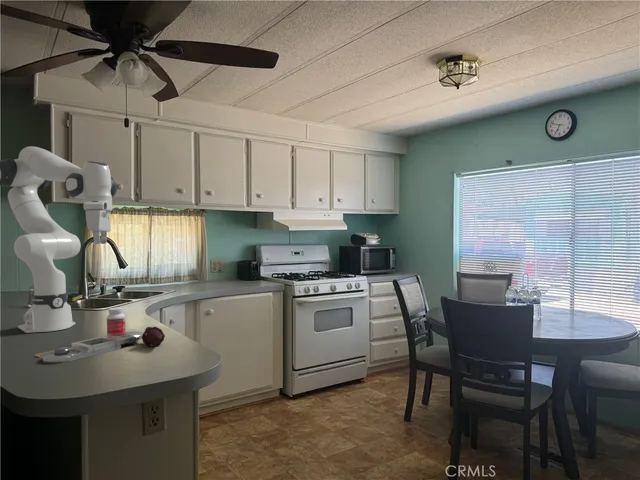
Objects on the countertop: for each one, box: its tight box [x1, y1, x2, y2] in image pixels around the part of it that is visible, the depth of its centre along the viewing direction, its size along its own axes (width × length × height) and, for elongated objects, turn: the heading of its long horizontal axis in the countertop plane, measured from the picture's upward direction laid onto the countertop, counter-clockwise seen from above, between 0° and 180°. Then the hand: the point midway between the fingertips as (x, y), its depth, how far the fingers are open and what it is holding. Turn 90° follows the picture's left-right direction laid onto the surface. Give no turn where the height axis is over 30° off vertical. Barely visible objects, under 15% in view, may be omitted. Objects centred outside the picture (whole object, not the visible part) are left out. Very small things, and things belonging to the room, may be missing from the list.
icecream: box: [141, 326, 166, 348], centre depth 152 cm, size 7×7×15 cm
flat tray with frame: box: [42, 331, 144, 364], centre depth 148 cm, size 32×10×3 cm, turn 146°
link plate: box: [34, 349, 55, 359], centre depth 145 cm, size 8×3×1 cm, turn 145°
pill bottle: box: [106, 307, 127, 336], centre depth 164 cm, size 6×6×11 cm
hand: (100, 244), depth 164 cm, fingers open, 8 cm apart
